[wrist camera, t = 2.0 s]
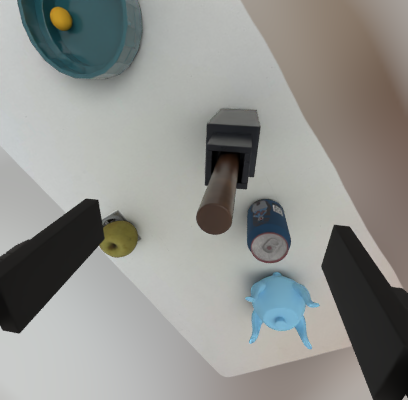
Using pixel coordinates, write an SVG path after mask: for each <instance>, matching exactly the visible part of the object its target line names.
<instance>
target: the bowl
mask: <svg viewBox="0 0 408 400" xmlns="http://www.w3.org/2000/svg"><path fill="white" fill-rule="evenodd" d="M17 2H18V7H19V11H20V15H21V19H22V24H23V26H24V28H25V30H26V32H27V35H28V37H29V39H30V41H31V43H32V45H33V46H34V47H35V48H36V50H37V51H38V52H39V54H40V55H41V56H42V57H43V59H44V60H45V61H46V62H48V63H49V64H50V65H51V66H53V67H54V68H55V69H56V70H58V71H59V72H61V73H63V74H66V75H68V76H71V77H73V78H83V79H108V78H111V77H113V76H116V75H119V74H121V73H122V72H123V71H124V70H125V69H126V68H127V67H128V66H129V65H131V63H132V61H133V59H134V57H135V55H136V54H137V52H138V49H139V45H140V40H141V35H142V22H141V10H140V7H139V4H138V1H137V0H17ZM54 7H62V8H64V9H65V10H67V11H68V13H69V14H70V16H71V18H72V26H71V28H70V29H69V30H67V31H62V30H59V29H57V28H56V27H55V26H54V25H53V23H52V22H51V19H50V12H51V10H52V9H53V8H54Z"/></svg>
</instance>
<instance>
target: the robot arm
mask: <svg viewBox="0 0 408 400" xmlns="http://www.w3.org/2000/svg"><path fill="white" fill-rule="evenodd" d="M104 239H105V237H104V231H103V225H102V219H101V214H100V208H99V202H98V200H95V199H85V200H83V201H82V202H81V203H79V204H78V205H77V206H75V207H74V208H73V209H71V210H70V211H68V212H67V213H66V214H64V215H63V216H62V217H60V218H59V219H58V220H56V221H55V222H53V223H52V224H51V225H49V226H48V227H47V228H45V229H44V230H43V231H41V232H40V233H38V234H37V235H36V236H34V237H33V238H32V239H30V240H27V241H24V242H22V243H20V244H18V245H16V246H14V247H13V248H12V249H10V250H9V251H7V252H6V254H3V255H2V256H0V326H1V328H2V330H4V331H9V332H14V333H20V332H21V331H22V330H23V329H24V328H25V327H26V326H27V325H28V323H29V322H30V321H31V320H32V319H33V318H34V317H35V316H36V314H38V312H39V311H40V310H41V309H42V308H43V307H44V306H45V305H46V303H47V302H48V301H49V300H50V299H51V298H52V297H53V296H54V294H56V292H57V291H58V290H59V289H60V288H61V287H62V286H63V285H64V283H65V282H66V281H67V280H68V279H69V278H70V277H71V276H72V275H73V273H74V272H75V271H76V270H77V269H78V268H79V267H80V266H81V265H82V264H83V263H84V261H85V260H86V259H87V258H88V257H89V256H90V255H91V254H92V253H93V251H94V250H95V249H96V248H97V247H98V246H99V245H100V244H101V243H102V241H103V240H104ZM321 267H322V269H323V272H324V275H325V277H326V280H327V282H328V285H329V287H330V290H331V293H332V295H333V298H334V300H335V303H336V305H337V308H338V311H339V313H340V316H341V318H342V321H343V323H344V326H345V329H346V331H347V334H348V336H349V339H350V341H351V344H352V347H353V349H354V351H355V354H356V357H357V359H358V362H359V365H360V367H361V370H362V372H363V375H364V377H365V380H366V383H367V385H368V388H369V390H370V393H371V395H372V398H373V400H402V399H403V398H404V396H405V395H406V396H407V398H408V293H407V292H406V291H405V290H404V289H402V288H395V287H391V286H390V284H389V283H388V282H387V280H386V279H385V277H384V276H383V274H382V273H381V271H380V270H379V268H378V267H377V266H376V264H375V263H374V261H373V260H372V258H371V257H370V255H369V254H368V252H367V251H366V250H365V248H364V247H363V245H362V244H361V242H360V241H359V239H358V238H357V236H356V235H355V234H354V232H353V231H352V229H351V228H350V227H349V226H340V225H334V227H333V230H332V233H331V236H330V240H329V243H328V246H327V249H326V253H325V256H324V259H323V263H322V266H321Z"/></svg>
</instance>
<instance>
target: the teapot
mask: <svg viewBox="0 0 408 400" xmlns="http://www.w3.org/2000/svg"><path fill="white" fill-rule="evenodd" d="M246 300H248V301H250V302H252V305H253V308H254V311H253V313H252V328H253V331H252V336H251V338H250V340H249V343H250V344H251V343H253V342H255V340H256V339H257V337H258V335H259V331H260V327H261V324H262V323H263V322H264V323H265V324H266V325H267V326H268V327H269V328H271V329H274V330H278V331H286V330H290V329H292V328H294V327H295V328H296V330H297V332H298V334H299V336H300V338H301V340H302V342H303V343H304V345H305V346H306V347H307V348H308V349H312V346H311V344H310V342H309V340H308V338H307V333H306V322H305V318H304V316H303V314H304V311H305V307H306V305H307V306H309V307H318V306H320V305H319V304H318V303H314V302H312V301H311V298H310V294H309V292H308V290H307V289H306V288H305V287H304V286H303V285H301V284H298V283H297V282H295V281H294V280H292V279H290V278H287V277H284V276H282V275H281V273H279V272H275V273H273V275H272V276H269V277H266V278H264V279H262V280H260V281H259V282H257V283H255V284H254V285H253V286H252V288H251V296H250V297H246Z"/></svg>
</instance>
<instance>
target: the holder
mask: <svg viewBox="0 0 408 400" xmlns="http://www.w3.org/2000/svg"><path fill="white" fill-rule="evenodd" d="M259 135H260V123H259V119H258V114H257V110H241V109H220V110H219V112H218V113H217V114H216V115H215V116H214V117H213V118H212V119H211V120H210V121H209V122H208V123H207V137H206V164H205V186H208V184H209V181H210V178H211V176H212V173H213V171H214V168H215V166H216V163H217V161H218V158H219V155H220V153H221V151H222V152H235V153H240V161H239V169H238V177H237V186H236V188H237V189H247V183H248V177H254V173H255V166H256V158H257V150H258V142H259Z"/></svg>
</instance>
